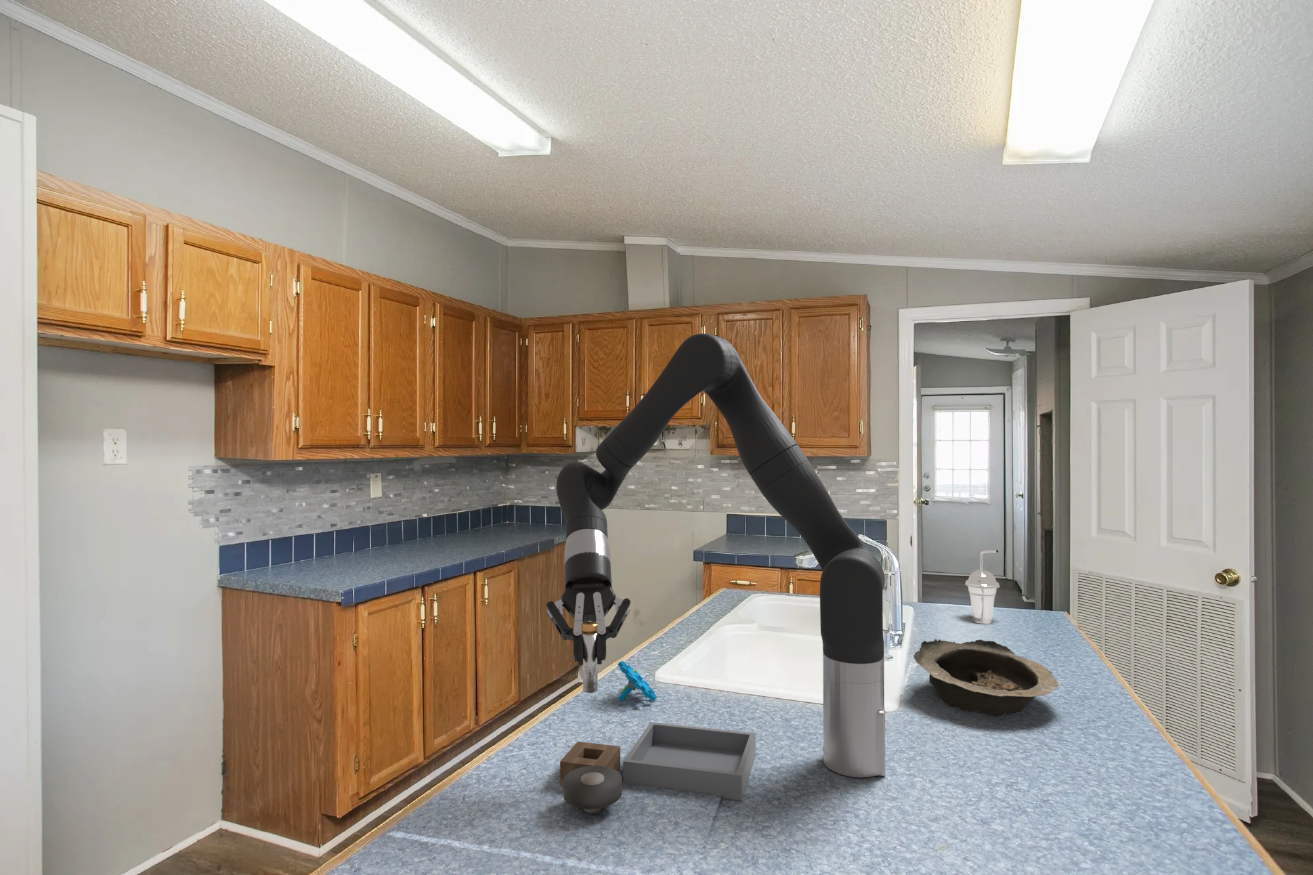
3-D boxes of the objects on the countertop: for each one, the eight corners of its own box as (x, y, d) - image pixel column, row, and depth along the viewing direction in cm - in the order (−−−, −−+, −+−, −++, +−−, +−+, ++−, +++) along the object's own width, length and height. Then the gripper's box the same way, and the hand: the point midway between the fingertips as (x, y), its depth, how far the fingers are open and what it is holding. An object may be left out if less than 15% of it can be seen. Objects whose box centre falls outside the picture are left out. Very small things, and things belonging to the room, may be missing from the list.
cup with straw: (992, 617, 198) (992, 544, 197) (1005, 626, 189) (1005, 550, 188) (960, 617, 198) (960, 544, 198) (971, 626, 189) (971, 550, 189)
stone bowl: (919, 670, 155) (922, 628, 154) (1051, 697, 144) (1055, 652, 144) (904, 710, 132) (908, 660, 132) (1059, 745, 122) (1064, 691, 121)
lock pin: (600, 687, 109) (599, 622, 109) (595, 693, 107) (594, 626, 107) (585, 686, 110) (584, 621, 110) (579, 692, 107) (578, 625, 107)
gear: (660, 701, 135) (622, 663, 136) (638, 725, 134) (599, 686, 135) (658, 688, 146) (623, 653, 147) (638, 710, 145) (602, 674, 146)
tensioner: (644, 775, 110) (644, 744, 110) (610, 831, 95) (610, 795, 94) (577, 766, 113) (577, 736, 113) (534, 819, 97) (534, 785, 97)
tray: (755, 755, 116) (755, 733, 116) (741, 800, 102) (741, 775, 102) (650, 743, 121) (650, 722, 121) (623, 785, 107) (623, 761, 107)
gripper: (543, 551, 115) (541, 652, 103) (630, 548, 116) (638, 647, 104) (545, 578, 120) (543, 676, 108) (628, 575, 121) (636, 671, 109)
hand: (590, 661), depth 106 cm, fingers closed on lock pin, 2 cm apart
